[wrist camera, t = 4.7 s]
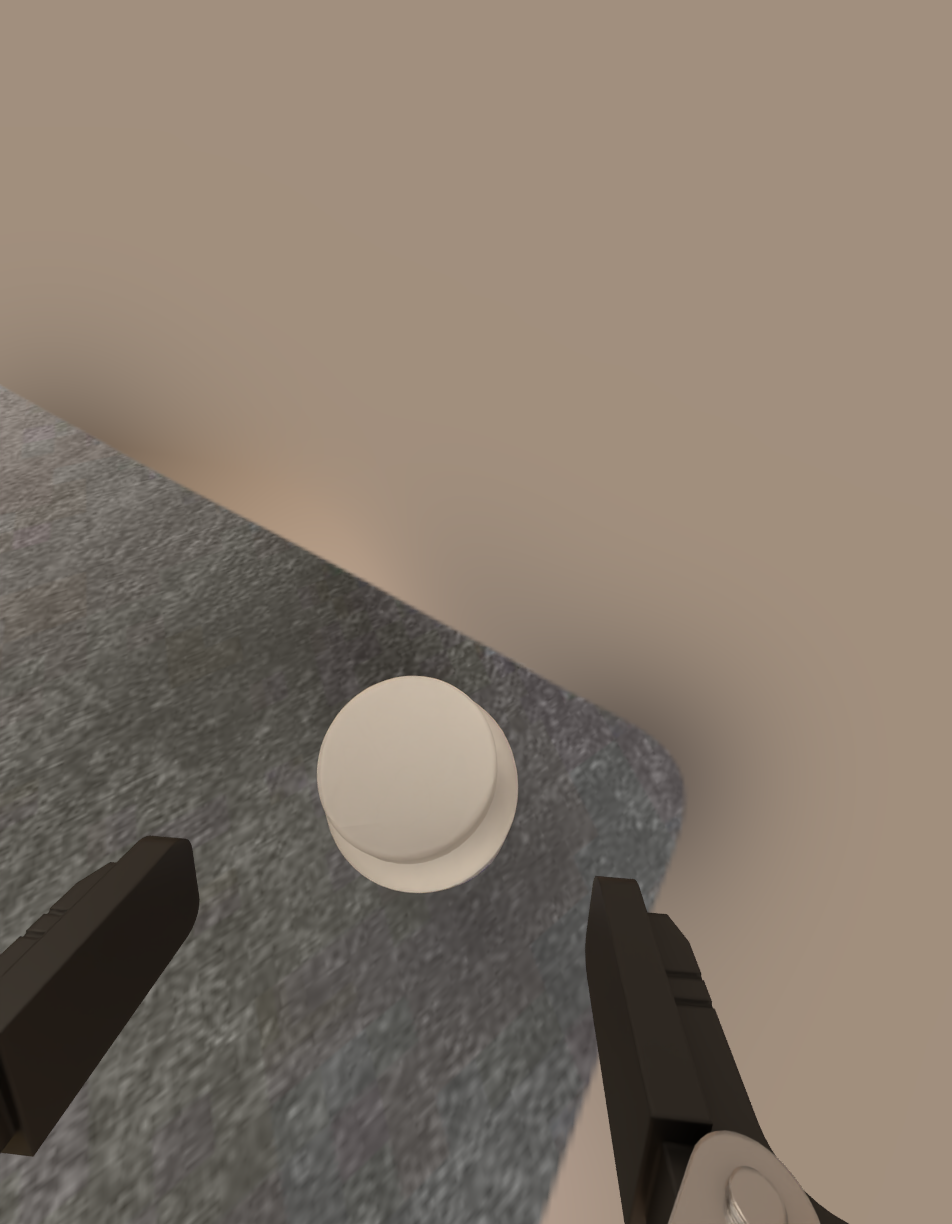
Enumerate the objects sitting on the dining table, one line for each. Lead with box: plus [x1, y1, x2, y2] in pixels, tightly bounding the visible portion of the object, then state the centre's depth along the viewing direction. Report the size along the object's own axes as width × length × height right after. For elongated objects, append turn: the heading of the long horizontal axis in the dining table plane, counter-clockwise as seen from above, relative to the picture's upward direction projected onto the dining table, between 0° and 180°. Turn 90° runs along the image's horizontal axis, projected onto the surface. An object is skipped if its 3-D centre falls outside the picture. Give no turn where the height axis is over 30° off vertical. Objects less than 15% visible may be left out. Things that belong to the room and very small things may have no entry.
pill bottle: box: [317, 676, 518, 893], centre depth 14 cm, size 5×5×9 cm
